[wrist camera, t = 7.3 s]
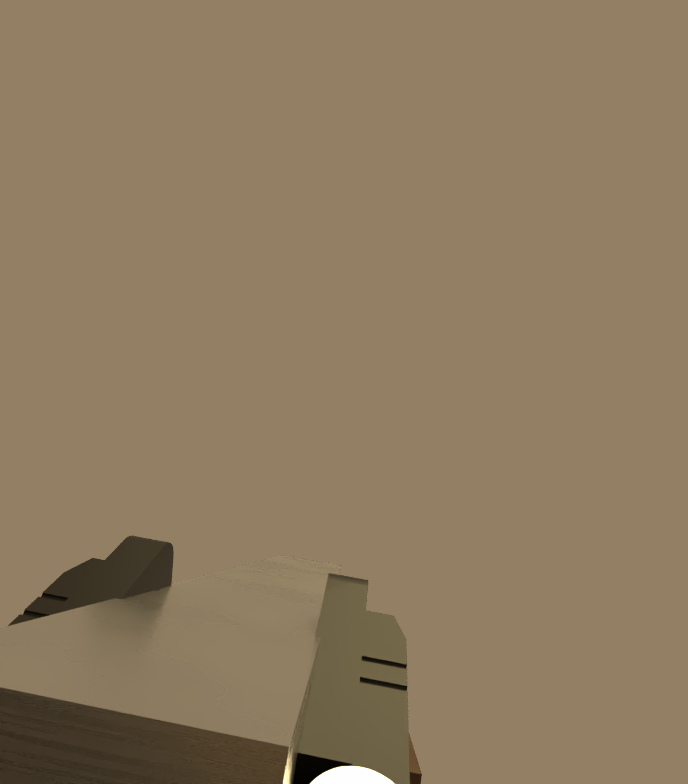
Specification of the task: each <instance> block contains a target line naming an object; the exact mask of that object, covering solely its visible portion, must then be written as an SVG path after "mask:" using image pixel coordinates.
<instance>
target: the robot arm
mask: <svg viewBox="0 0 688 784" xmlns="http://www.w3.org/2000/svg"><path fill="white" fill-rule="evenodd" d="M172 568H173V546H172V544H171V543H168V542H163V541H158V540H152V539H146V538H142V537H136V536H129V537H127V538H126V539H125V540H124V541H123V542H122V543H121V544H120V545H119V546H118V547H117V548H116V549H115V550H114V551H113V552H112V553H111V554H110V555H109V556H108V557H107V558H106V560H100V559H95V558H92V559H90V560H88V561H86V562H84V563H82V564H80V565H78V566H76V567H74V568H72V569H70V570H68V571H66V572H64V573H63V574H62V575H61V576H60V577H59V578H58V579H57V580H56V581H55V582H54V583H53V584H51V585H50V586H49V587H48V588H47V589H46V590H45V591H44V592H43V594H42V596H41V597H38V598H37V599H36V600H35V601H34V602H32V603H31V604H30V605H29V606H28V607H27V608H26V609H25V611H24V614H23V615H19V616H18V617H17V618H16V619H15V620H14V621H12V622H11V623H10V624H9V625H8V626H10V625H14V624H18V623H22V622H26V621H29V620H33V619H37V618H41V617H45V616H49V615H53V614H57V613H60V612H64V611H68V610H72V609H76V608H80V607H84V606H87V605H91V604H95V603H99V602H103V601H107V600H111V599H114V598H117V599H124V598H128V597H132V596H135V595H139V594H143V593H146V592H150V591H154V590H157V589H161V588H165V587H169V586H171V582H172ZM367 591H368V580H363V579H358V578H353V577H348V576H342V575H337V574H332V573H329V574H328V579H327V583H326V588H325V593H324V597H323V602H322V607H321V611H320V616H319V621H318V625H317V630H316V634H315V637H318V638H320V643H319V648H318V653H317V658H316V663H315V668H314V673H313V678H312V683H311V688H310V693H309V698H308V703H307V708H306V713H305V718H304V724H303V729H302V734H301V739H300V744H299V749H298V754H297V760H296V767H295V773H294V779H293V784H410V773H409V732H408V697H407V696H408V693H407V670H406V666H407V652H406V638H405V636H404V634H403V632H402V630H401V629H400V627H399V625H398V623H397V621H396V619H395V617H394V616H392V615H387V614H382V613H376V612H371V611H366V602H367Z"/></svg>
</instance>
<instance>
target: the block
mask: <svg viewBox="0 0 688 784" xmlns="http://www.w3.org/2000/svg"><path fill="white" fill-rule="evenodd" d="M340 570H341V566H340V565H335V564H330V563H324V562H319V561H314V560H308V559H302V558H297V557H292V556H287V555H280V556H276V557H273V558H269V559H265V560H261V561H257V562H253V563H249V564H246V565H242V566H238V567H234V568H230V569H226V570H222V571H219V572H215V573H211V574H207V575H203V576H199V577H196V578H192V579H188V580H184V581H180V582H176V583H173V584H171V586H169V587H165V588H161V589H157V590H154V591H150V592H146V593H143V594H139V595H135V596H132V597H128V598H124V599H117V598H114V599H111V600H107V601H103V602H99V603H95V604H91V605H87V606H84V607H80V608H76V609H72V610H68V611H64V612H60V613H57V614H53V615H49V616H45V617H41V618H37V619H33V620H29V621H26V622H22V623H18V624H14V625H10V626H6V627H2V628H0V784H293V779H294V773H295V767H296V760H297V754H298V749H299V744H300V739H301V734H302V729H303V724H304V718H305V713H306V708H307V703H308V698H309V693H310V688H311V683H312V678H313V673H314V668H315V663H316V658H317V653H318V648H319V643H320V638H318V637H315V634H316V630H317V625H318V621H319V616H320V611H321V607H322V602H323V597H324V593H325V588H326V583H327V579H328V574H329V573H332V574H337V575H340Z"/></svg>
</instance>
